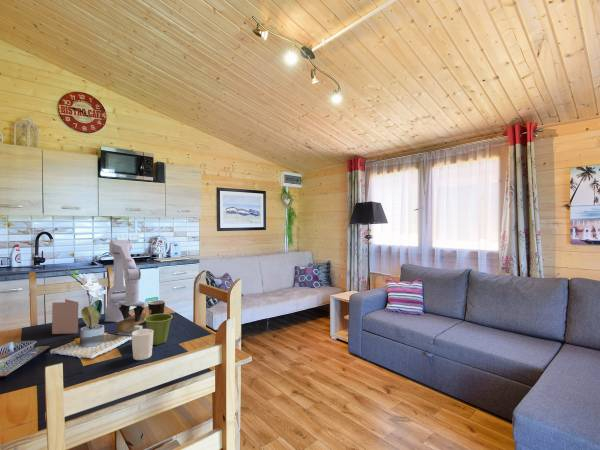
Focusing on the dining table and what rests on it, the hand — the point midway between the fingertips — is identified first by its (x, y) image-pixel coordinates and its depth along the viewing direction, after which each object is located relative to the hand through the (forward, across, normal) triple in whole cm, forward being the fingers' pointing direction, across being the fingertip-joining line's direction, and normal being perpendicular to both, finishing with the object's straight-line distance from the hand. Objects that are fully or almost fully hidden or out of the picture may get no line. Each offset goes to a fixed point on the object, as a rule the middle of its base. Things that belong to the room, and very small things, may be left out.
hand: (131, 320), depth 157 cm
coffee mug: (+6, +1, +18) cm, 19 cm away
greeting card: (+6, -30, -8) cm, 32 cm away
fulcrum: (+6, 0, 0) cm, 6 cm away
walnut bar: (+2, 0, 0) cm, 2 cm away
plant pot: (+6, +20, -8) cm, 22 cm away
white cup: (+6, +23, -23) cm, 33 cm away
